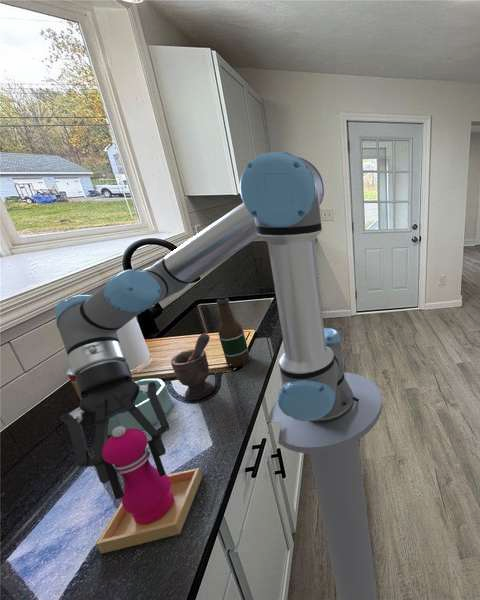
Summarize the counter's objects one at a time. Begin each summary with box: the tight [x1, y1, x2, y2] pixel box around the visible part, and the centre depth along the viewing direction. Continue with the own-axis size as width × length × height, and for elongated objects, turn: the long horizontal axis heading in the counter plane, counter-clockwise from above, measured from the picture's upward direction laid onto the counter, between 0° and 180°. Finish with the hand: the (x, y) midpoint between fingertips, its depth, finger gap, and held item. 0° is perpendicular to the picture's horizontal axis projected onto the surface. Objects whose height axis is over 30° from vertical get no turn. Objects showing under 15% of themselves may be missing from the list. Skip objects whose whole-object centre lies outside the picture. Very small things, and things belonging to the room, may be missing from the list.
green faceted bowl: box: [93, 378, 174, 436], centre depth 86 cm, size 17×15×7 cm
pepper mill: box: [102, 426, 174, 524], centre depth 57 cm, size 7×7×20 cm
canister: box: [116, 316, 153, 375], centre depth 108 cm, size 16×16×20 cm
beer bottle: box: [216, 297, 251, 368], centre depth 107 cm, size 8×8×24 cm
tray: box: [95, 467, 203, 555], centre depth 60 cm, size 12×12×3 cm
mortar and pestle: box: [170, 333, 214, 402], centre depth 92 cm, size 12×9×20 cm
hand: (142, 485), depth 55 cm, fingers closed on pepper mill, 5 cm apart
